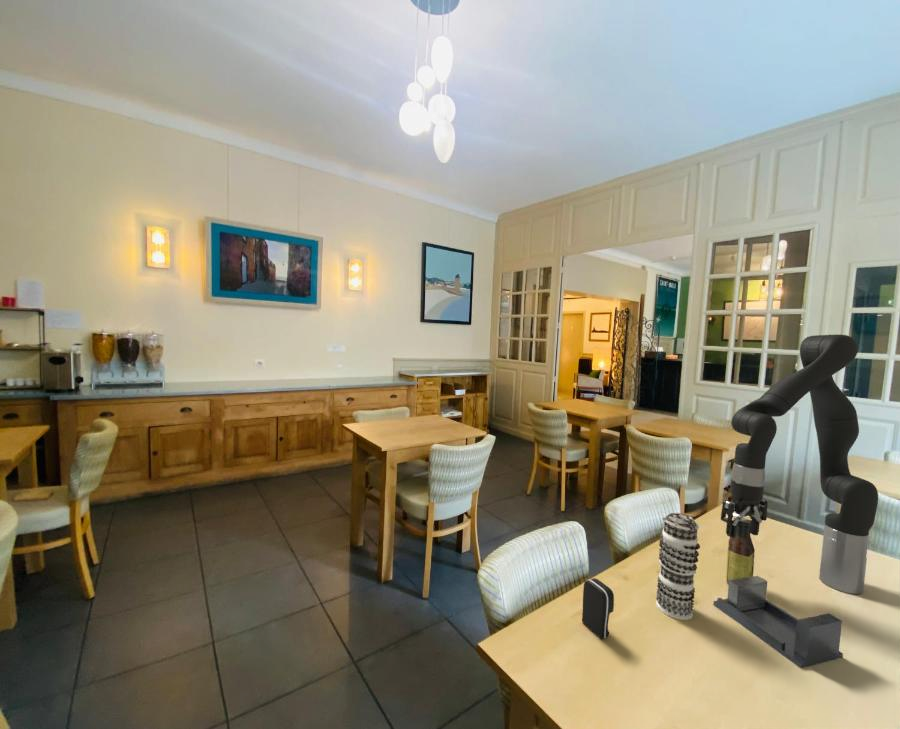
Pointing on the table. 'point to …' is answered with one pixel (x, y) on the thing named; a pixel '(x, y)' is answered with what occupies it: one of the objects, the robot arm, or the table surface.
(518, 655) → the table surface
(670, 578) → the decorative candle
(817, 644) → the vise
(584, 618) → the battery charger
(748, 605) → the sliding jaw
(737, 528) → the sauce bottle
